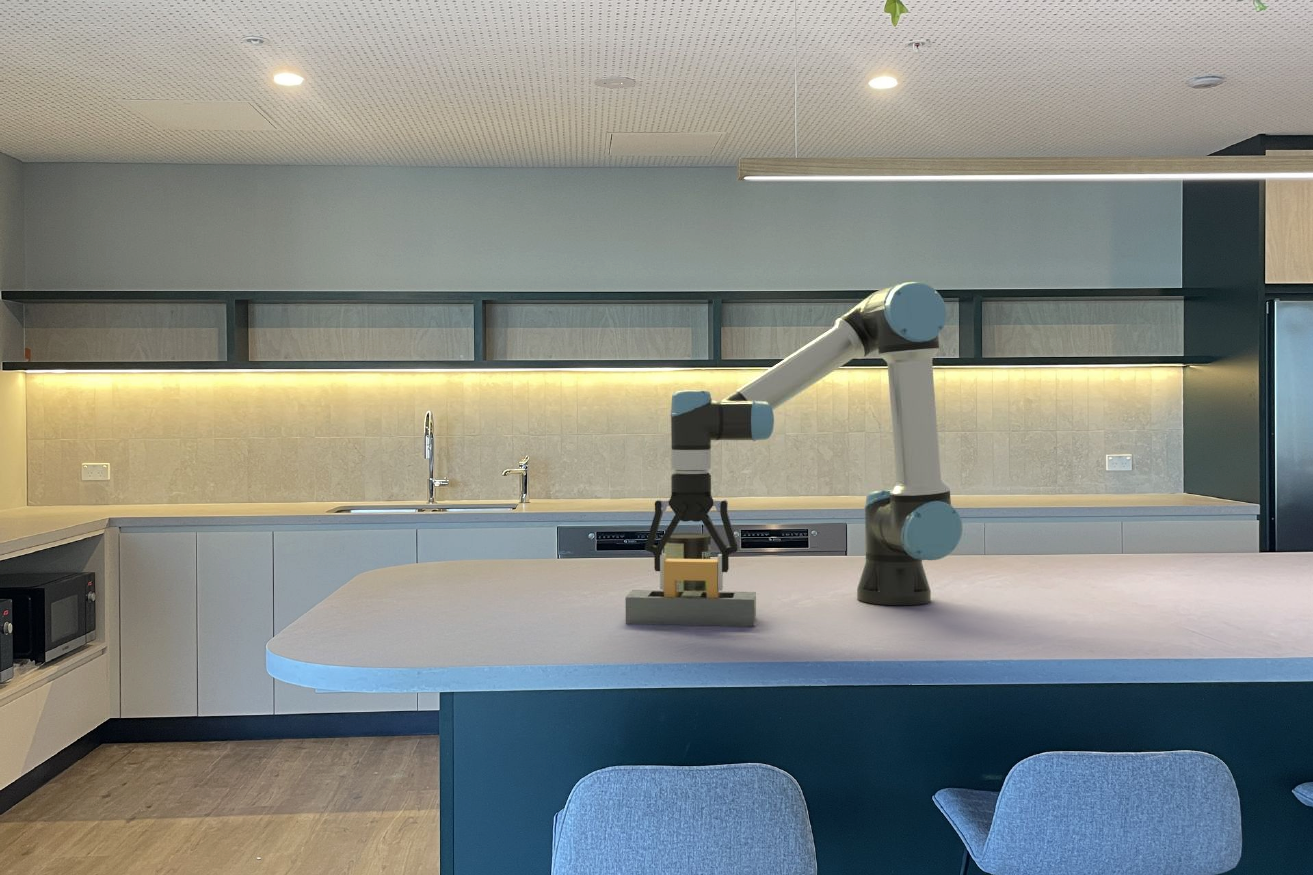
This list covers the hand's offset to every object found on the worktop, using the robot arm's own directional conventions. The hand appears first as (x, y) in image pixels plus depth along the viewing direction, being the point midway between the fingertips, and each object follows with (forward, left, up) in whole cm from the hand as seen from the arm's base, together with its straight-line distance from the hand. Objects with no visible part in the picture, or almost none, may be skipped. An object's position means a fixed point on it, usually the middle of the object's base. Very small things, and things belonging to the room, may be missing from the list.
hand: (691, 588), depth 203 cm
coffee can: (+3, -19, -6) cm, 21 cm away
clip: (0, 0, -4) cm, 4 cm away
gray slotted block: (0, 0, -6) cm, 6 cm away
